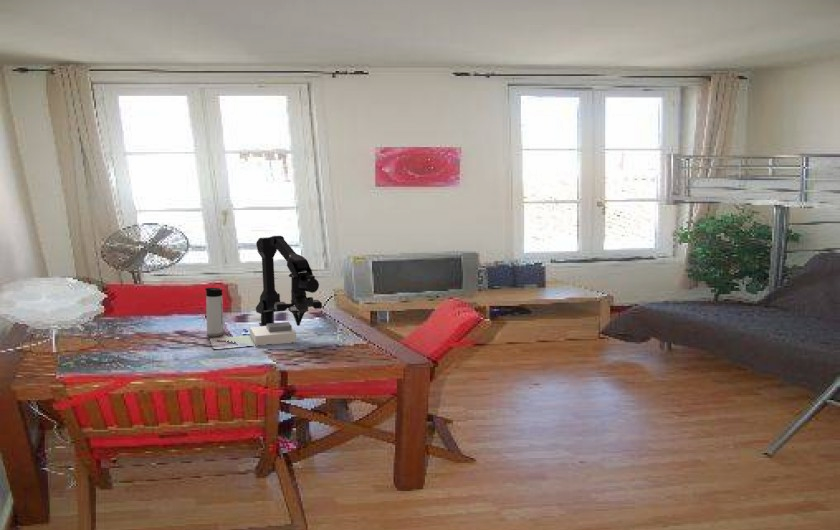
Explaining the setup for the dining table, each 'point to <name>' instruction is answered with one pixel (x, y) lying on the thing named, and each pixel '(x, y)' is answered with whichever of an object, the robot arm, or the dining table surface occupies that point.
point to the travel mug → (214, 311)
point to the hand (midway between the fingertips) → (298, 325)
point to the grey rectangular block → (278, 327)
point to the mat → (236, 339)
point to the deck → (271, 336)
